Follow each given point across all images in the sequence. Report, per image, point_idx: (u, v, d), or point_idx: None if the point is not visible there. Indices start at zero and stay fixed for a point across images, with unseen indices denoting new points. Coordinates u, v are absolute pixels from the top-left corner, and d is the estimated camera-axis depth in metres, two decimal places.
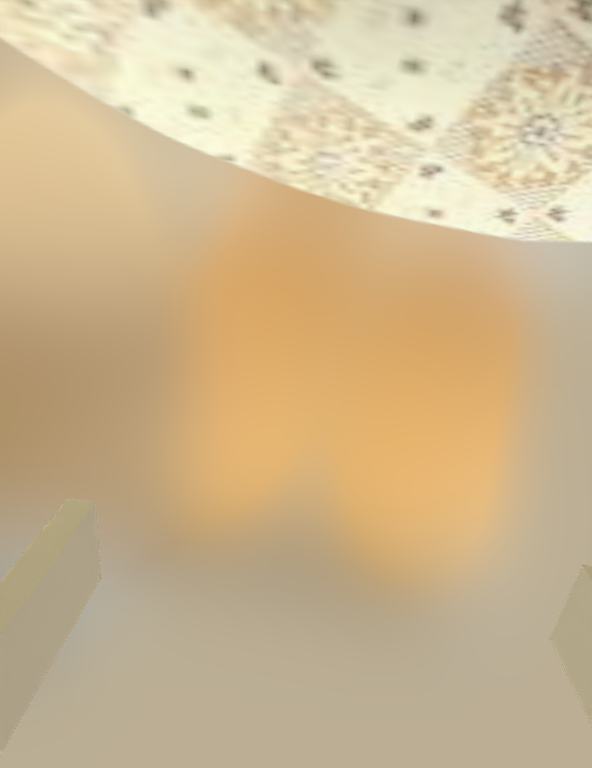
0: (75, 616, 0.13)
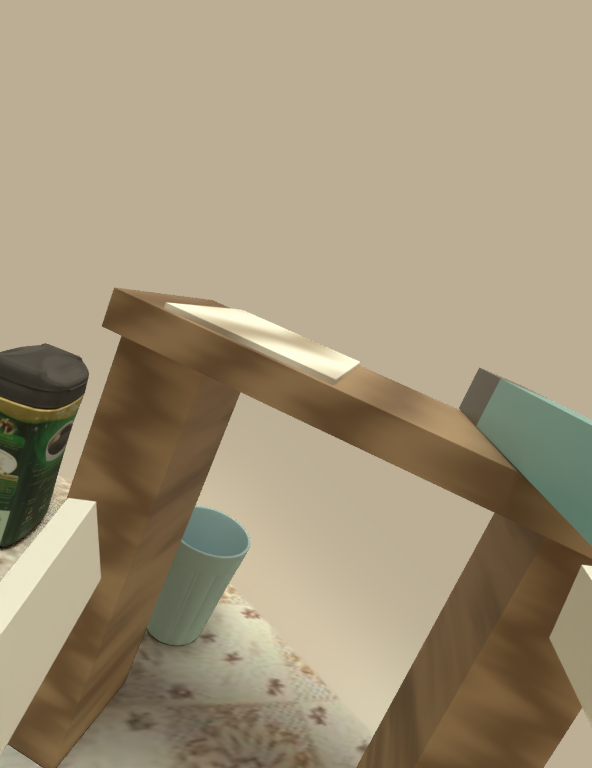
0: (75, 616, 0.13)
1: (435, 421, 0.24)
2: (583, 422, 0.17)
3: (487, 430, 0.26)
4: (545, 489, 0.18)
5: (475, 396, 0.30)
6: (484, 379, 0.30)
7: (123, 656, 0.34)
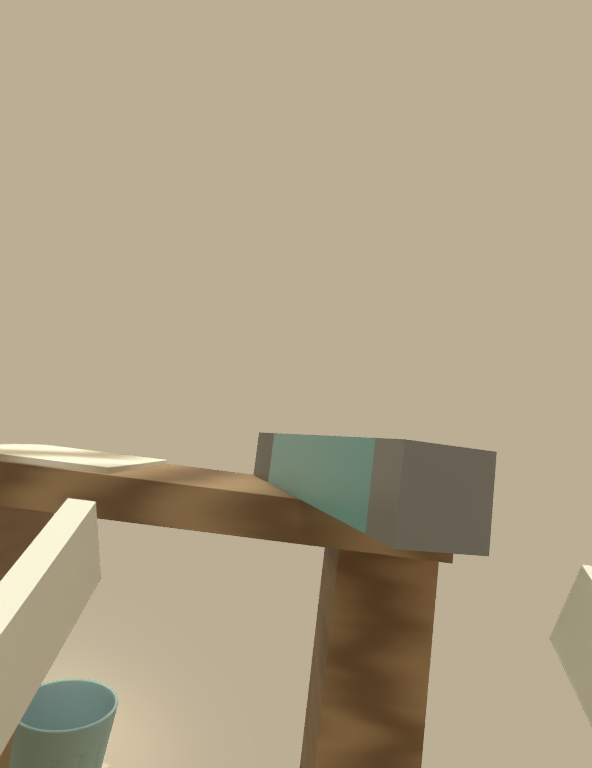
0: (75, 616, 0.13)
1: (221, 482, 0.26)
2: (328, 437, 0.20)
3: (275, 481, 0.28)
4: (320, 504, 0.20)
5: (262, 457, 0.33)
6: (264, 440, 0.33)
7: None
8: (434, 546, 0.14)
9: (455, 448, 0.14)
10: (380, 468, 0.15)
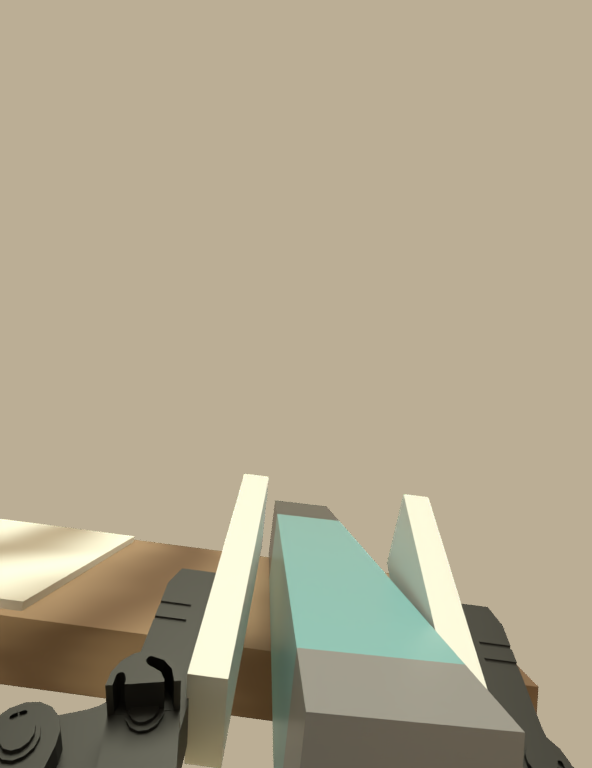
0: (255, 575, 0.14)
1: None
2: (285, 575, 0.13)
3: (270, 585, 0.21)
4: (273, 683, 0.13)
5: (272, 537, 0.26)
6: None
7: None
8: None
9: (424, 728, 0.07)
10: (292, 724, 0.08)
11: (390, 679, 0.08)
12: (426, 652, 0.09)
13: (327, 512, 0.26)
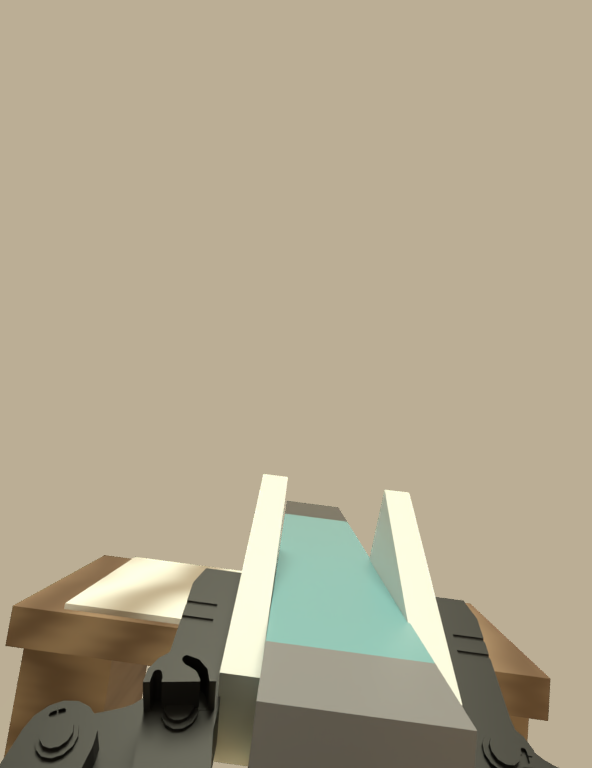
0: None
1: None
2: (276, 572, 0.13)
3: None
4: None
5: None
6: None
7: None
8: None
9: (374, 722, 0.07)
10: None
11: (352, 674, 0.08)
12: (398, 650, 0.09)
13: (337, 513, 0.26)
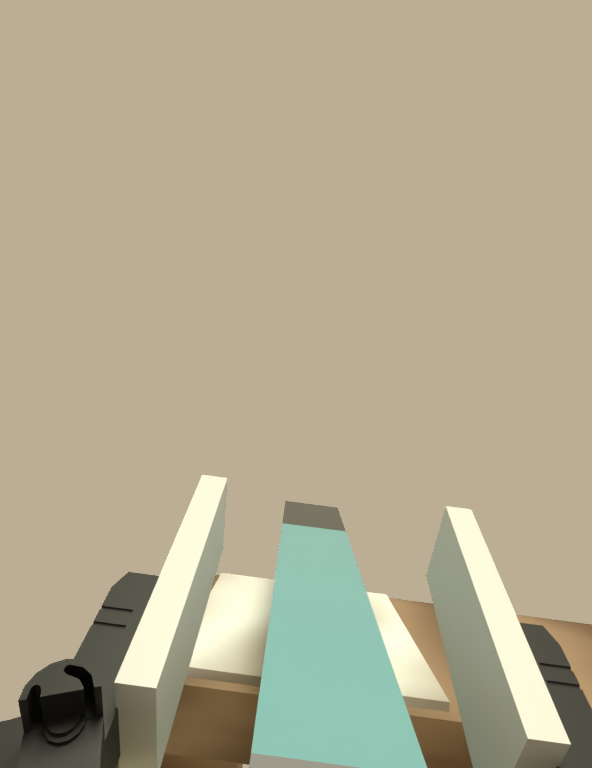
0: (212, 579, 0.14)
1: None
2: (268, 625, 0.13)
3: None
4: None
5: None
6: None
7: None
8: None
9: None
10: None
11: None
12: (391, 756, 0.08)
13: (336, 517, 0.26)
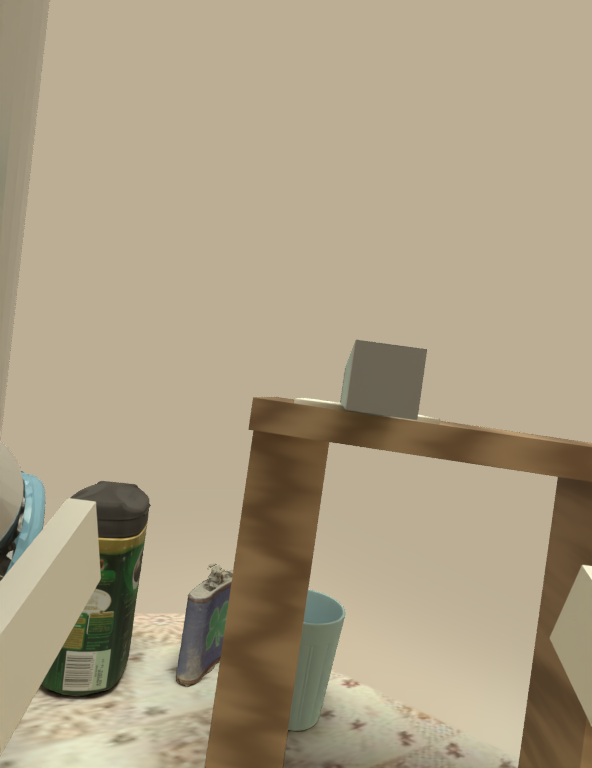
0: (75, 616, 0.13)
1: (508, 433, 0.32)
2: (350, 354, 0.27)
3: None
4: (343, 402, 0.27)
5: None
6: None
7: None
8: (375, 410, 0.21)
9: (393, 346, 0.21)
10: (351, 363, 0.22)
11: None
12: None
13: None
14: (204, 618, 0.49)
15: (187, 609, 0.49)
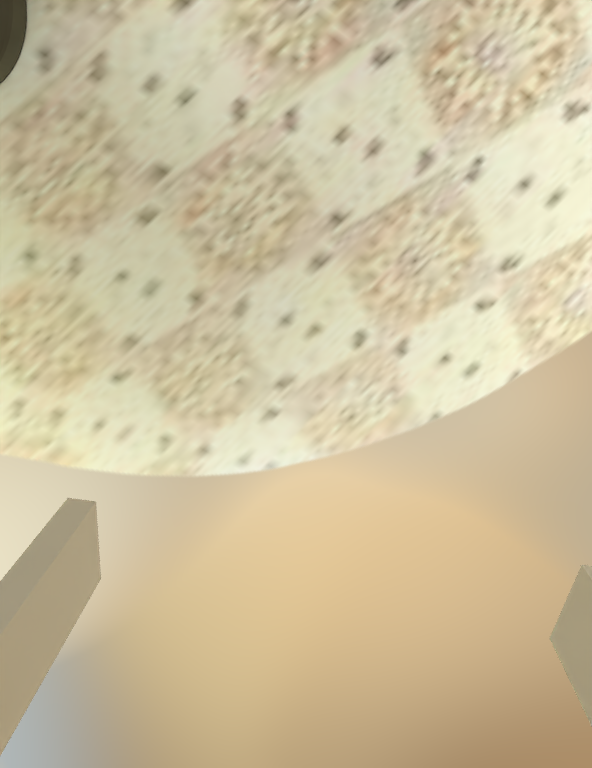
0: (75, 616, 0.13)
1: None
2: None
3: None
4: None
5: None
6: None
7: None
8: None
9: None
10: None
11: None
12: None
13: None
14: None
15: None
